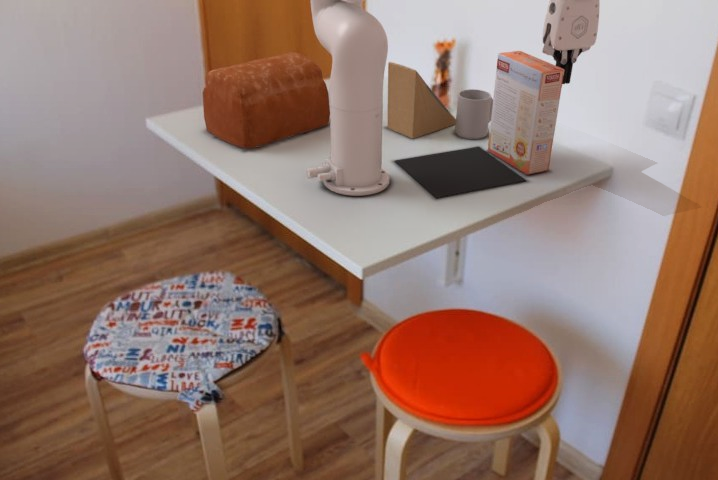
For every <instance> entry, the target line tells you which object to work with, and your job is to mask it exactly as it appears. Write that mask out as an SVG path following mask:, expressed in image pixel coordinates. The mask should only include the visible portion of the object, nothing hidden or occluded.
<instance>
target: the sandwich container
mask: <svg viewBox="0 0 718 480" xmlns="http://www.w3.org/2000/svg"><path fill="white" fill-rule="evenodd" d="M453 125H456V117H455V116H454V115H453V114H452V113H451V112H450V110H449V109H448V108H447V107H446V106H445V104H444V103H443V102H442V101H441V99H440V98H439V97H438V96H437V95H436V93H435V92H434V91H433V90H432V89H431V88H430V86H429V85H428V84H427V82H426V81H425V80H424V79H423V77H422V76H421V75H420V73H419V72H418V71H417V70H416V69H414V68H411V67H409V66H406V65H404V64H399V63H396V62H393V61H389V62H388V64H387V129H389V130H391V131H394V132H396V133H398V134H400V135H403V136H406V137H408V138H411V139H415V138H420V137H422V136H425V135H429V134H431V133H434V132H437V131H440V130H442V129H445V128H448V127H452V126H453Z"/></svg>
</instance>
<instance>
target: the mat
mask: <svg viewBox="0 0 718 480" xmlns="http://www.w3.org/2000/svg"><path fill="white" fill-rule="evenodd" d="M394 163H396V164H397V165H398V166H399V167H400V168H401V169H402V170H403V171H404V172H406V173H407V174H408V175H409V176H410V177H411V178H412V179H413V180H414V181H416V183H418V184H419V185H421V187H423V188H424V190H426V191H427V192H429V193H430V194H431V195H432V196H433V197H434V198H435V199H441V198H447V197H453V196H457V195H462V194H468V193H473V192H478V191H483V190H489V189H493V188H494V189H495V188H500V187H504V186H509V185H514V184H521V183H524V182H527V179H525V178H524V177H523V176H521V175H520V174H519V173H517V172H515V171H514V170H513V169H512V168H510V167H509V166H507V164H506V165H505V163H503V162H501V161H500V160H498V159H497V158H496V157H495V156H493V155H491V154H490V152H488V151H486V150H485V149H483V148H482V147H480V146H475V147H468V148H461V149H457V150H449V151H444V152H443V151H442V152H437V153H431V154H426V155H420V156H414V157H408V158H401V159H396V160H394Z"/></svg>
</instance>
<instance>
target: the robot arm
mask: <svg viewBox="0 0 718 480" xmlns="http://www.w3.org/2000/svg"><path fill="white" fill-rule="evenodd" d="M309 1H310V8H311V9H310V10H311V17H312V18H311V19H312V24H313V30H314V34H315V36H316V38H317V40H318V42H319V44H320V45H321V46H322V47H323V48H324V49H325V50H326V51H327V52H328V53H329V54H330V55H331V60H332V61H331V70H330V77H329V88H328V89H329V90H328V93H329V106H330V118H329V124H330V128H329V129H330V157H327V158H326V159H325V163H323V164H321V166H310V167H307V168H306V170H305V172H306V177H307V178H308V179H313V178H317V181H318V182H323V184H324V187H326V188H327V189H328V190H330V191H331V192H334V193H336V194H340V195H344V196H353V197H363V196H370V195H375V194H378V193H380V192H382V191H384V190H386V189H387V187H389V184H390V175H389V173H388V172H387V171H386V170H385V169H383V168H382V165H383V162H382V161H383V153H382V152H383V116H384V115H383V114H384V113H383V109H384V104H383V103H384V101H383V100H384V80H385V79H384V78H385V71H386V70H385V69H386V65H387V59H388V54H389V53H388V51H389V42H388V36H387V33H386V30H385V28H384V27H383V24H382V23H381V22H380V21H379V19H378V18H377V17H375V16H374V15H372V13H370V12H369V11H367V10H365V9H364V8H363V2H365V1H366V0H309ZM600 6H601V5H600V0H549V2H548V6H547V10H546V14H545V18H544V24H543V30H542V43H543V47H542V53H543V54H545V55H547V56H551V57H552V58H553V60H554V61H555V66H558V67H560V68H563V69H564V76H563V82H562V85H568V84H571V78H572V72H573V67H574V66H573V65H574V64H575V63H576V62H577V60H578V58H579V56H580V55H581V54H582V53H585V52H587V51H589V50H590V49H591V47H593V46H594V45H595V44H596V40H597V36H598V31H599V20H600V8H601V7H600Z"/></svg>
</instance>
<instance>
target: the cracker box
mask: <svg viewBox="0 0 718 480" xmlns="http://www.w3.org/2000/svg"><path fill="white" fill-rule="evenodd" d="M563 76H564V69H563V68H560V67H558V66H556V64H552V63H550V62H548V61H546V60H543V59H541V58H539V57H536V56H533V55H531V54H529V53H526V52H524V51H521V50H513V51H506V52H499V53H497V61H496V70H495V79H494V90H493V97H492V99H493V106H492V116H491V121H490V126H489V135H488V144H487V152H488V153H491V154H493V155H494V156H496V157H497V158H498V159H501V160H502V161H503V162H505V163H506V164H508V165H510V166H512V167H514V168H515V169H517V170H518V171H520V172H521V173H523V174H525V175H533V174H538V173H543V172H547V171H549V170H550V163H551V156H552V152H553V151H552V150H553V145H554V137H555V132H556V125H557V121H558V120H557V119H558V113H559V107H560V106H559V105H560V100H561V94H562V88H563V84H562V82H563Z"/></svg>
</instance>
